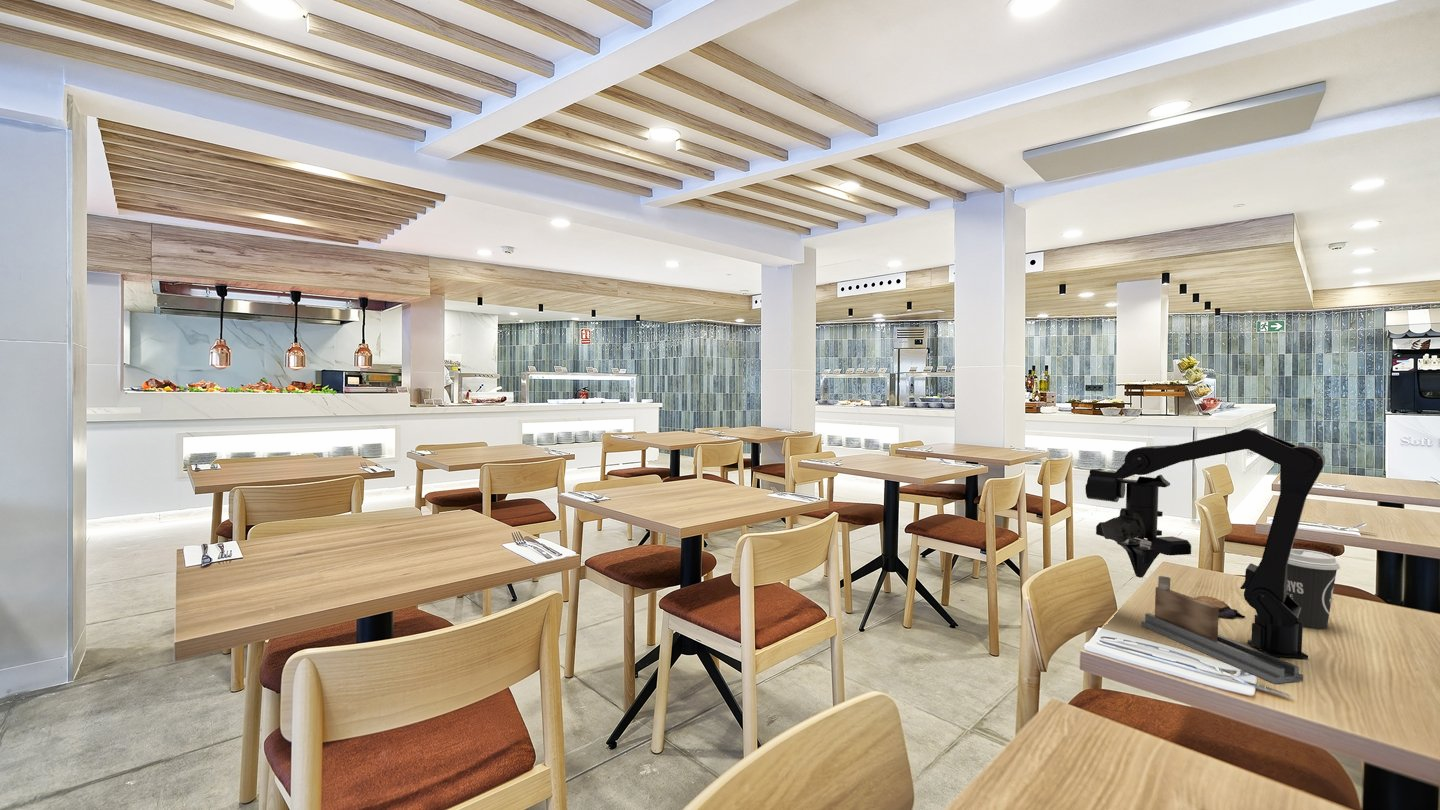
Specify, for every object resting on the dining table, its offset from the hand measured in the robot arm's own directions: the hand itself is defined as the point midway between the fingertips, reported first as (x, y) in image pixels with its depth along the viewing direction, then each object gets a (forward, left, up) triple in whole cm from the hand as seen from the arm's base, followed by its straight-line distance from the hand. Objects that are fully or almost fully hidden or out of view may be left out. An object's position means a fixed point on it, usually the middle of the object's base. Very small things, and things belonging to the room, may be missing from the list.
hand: (1139, 577), depth 135 cm
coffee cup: (-35, -3, -9) cm, 36 cm away
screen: (-4, +10, -8) cm, 13 cm away
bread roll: (-18, -7, -10) cm, 22 cm away
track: (-6, +16, -9) cm, 19 cm away
